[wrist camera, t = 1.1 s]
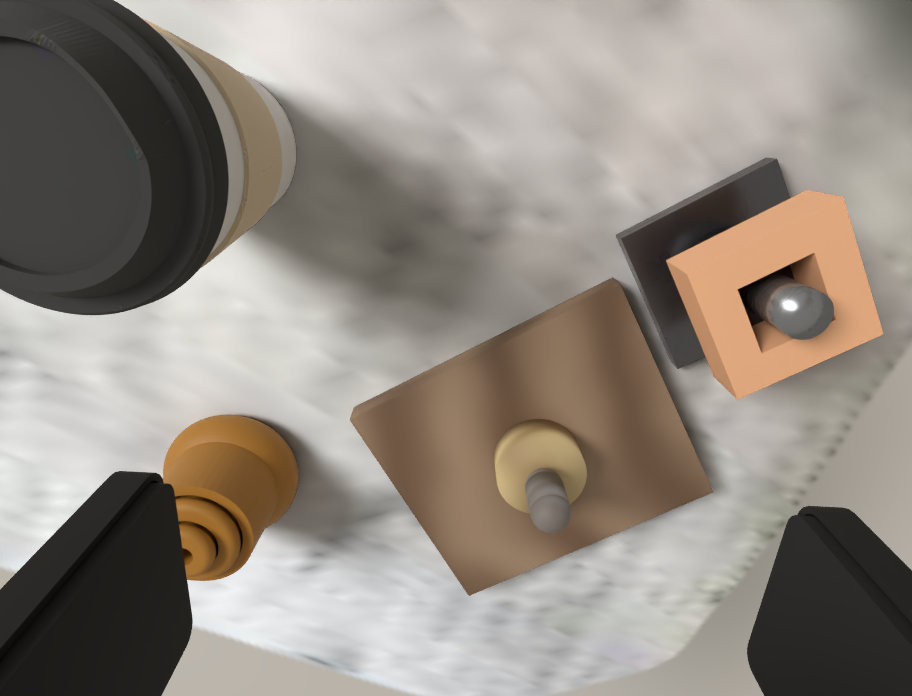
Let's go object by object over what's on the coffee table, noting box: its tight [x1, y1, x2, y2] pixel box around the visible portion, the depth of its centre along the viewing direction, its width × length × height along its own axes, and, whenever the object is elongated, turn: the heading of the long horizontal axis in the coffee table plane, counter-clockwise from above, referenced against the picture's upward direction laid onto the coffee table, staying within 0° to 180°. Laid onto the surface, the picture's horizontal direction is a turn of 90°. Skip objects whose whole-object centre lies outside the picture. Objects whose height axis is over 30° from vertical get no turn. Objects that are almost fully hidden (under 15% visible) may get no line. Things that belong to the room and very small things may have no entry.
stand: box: [616, 158, 834, 369], centre depth 27 cm, size 8×8×8 cm
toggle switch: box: [350, 278, 713, 596], centre depth 31 cm, size 16×14×8 cm
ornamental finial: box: [163, 415, 298, 581], centre depth 31 cm, size 8×8×8 cm
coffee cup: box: [0, 0, 296, 315], centre depth 21 cm, size 9×9×15 cm
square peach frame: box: [666, 190, 883, 399], centre depth 25 cm, size 6×6×2 cm
